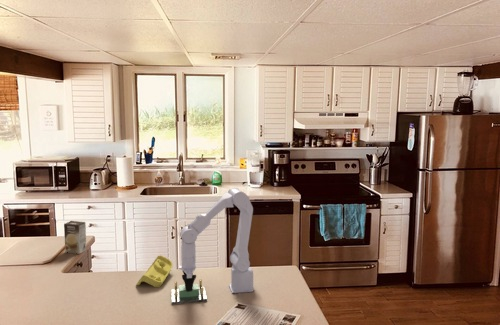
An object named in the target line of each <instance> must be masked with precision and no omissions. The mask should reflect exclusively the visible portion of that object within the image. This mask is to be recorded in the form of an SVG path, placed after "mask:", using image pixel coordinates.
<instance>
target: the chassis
mask: <svg viewBox="0 0 500 325" xmlns="http://www.w3.org/2000/svg"><path fill="white" fill-rule="evenodd" d="M198 286H199V296H193V297H182V298H179V288H178V281H174V289H171V305H181V304H191V303H192V304H193V303H202V302H204V303H205V302H208V297H207V292H206V287H205V286H203V280H202V279H199V281H198Z"/></svg>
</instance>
